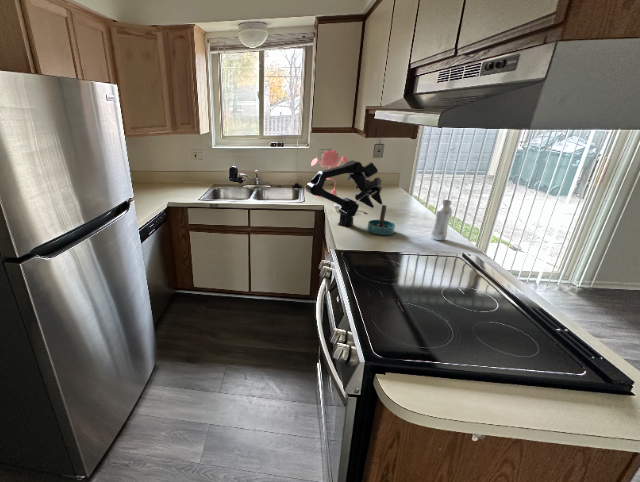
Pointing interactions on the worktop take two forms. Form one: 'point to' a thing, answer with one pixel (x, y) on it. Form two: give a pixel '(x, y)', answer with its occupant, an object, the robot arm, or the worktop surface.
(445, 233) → the plastic bottle
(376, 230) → the bowl
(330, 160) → the figurine
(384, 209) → the post
